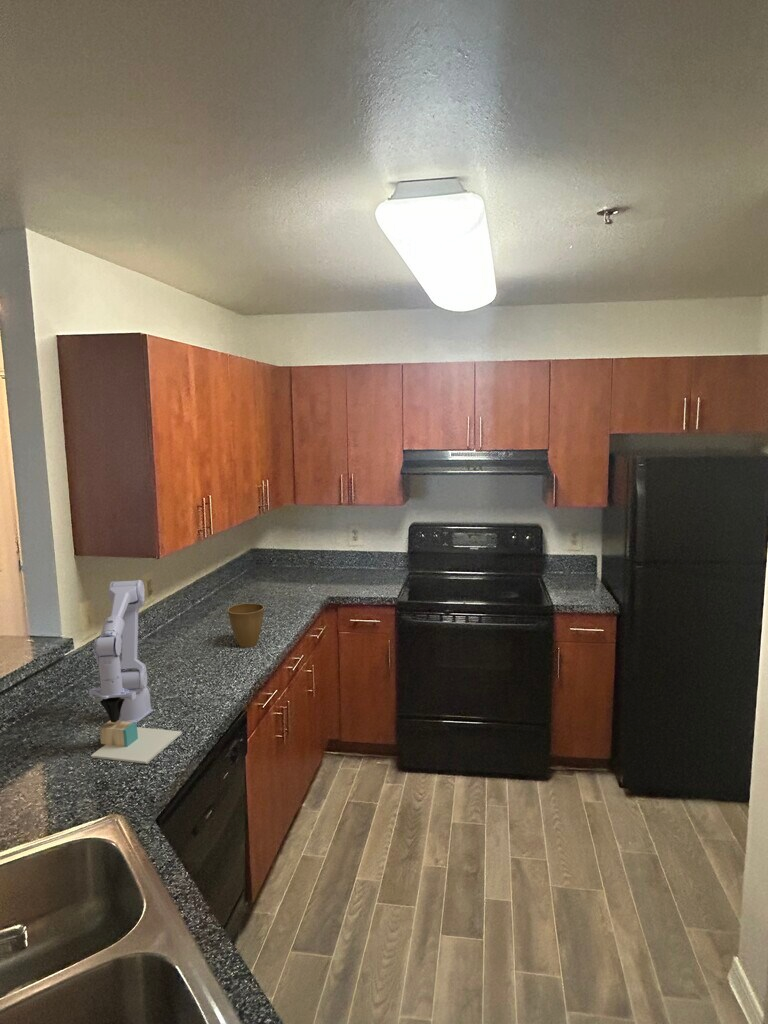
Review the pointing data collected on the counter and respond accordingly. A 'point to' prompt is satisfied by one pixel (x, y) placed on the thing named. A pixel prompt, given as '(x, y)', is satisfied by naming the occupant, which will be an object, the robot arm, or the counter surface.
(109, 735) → the wooden block
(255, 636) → the plant pot
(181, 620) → the counter surface
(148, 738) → the board
